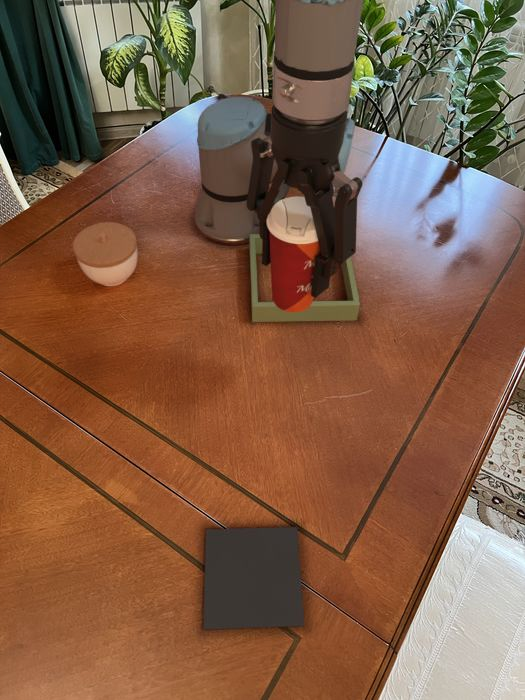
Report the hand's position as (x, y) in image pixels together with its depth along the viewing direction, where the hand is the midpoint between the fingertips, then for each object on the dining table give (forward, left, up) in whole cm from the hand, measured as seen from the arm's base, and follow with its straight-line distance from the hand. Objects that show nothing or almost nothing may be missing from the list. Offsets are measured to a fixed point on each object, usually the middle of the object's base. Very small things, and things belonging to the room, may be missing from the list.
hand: (294, 275), depth 74 cm
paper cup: (0, 0, -4) cm, 4 cm away
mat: (+31, -6, -22) cm, 39 cm away
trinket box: (-23, -30, -22) cm, 44 cm away
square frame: (-20, +4, -22) cm, 30 cm away
